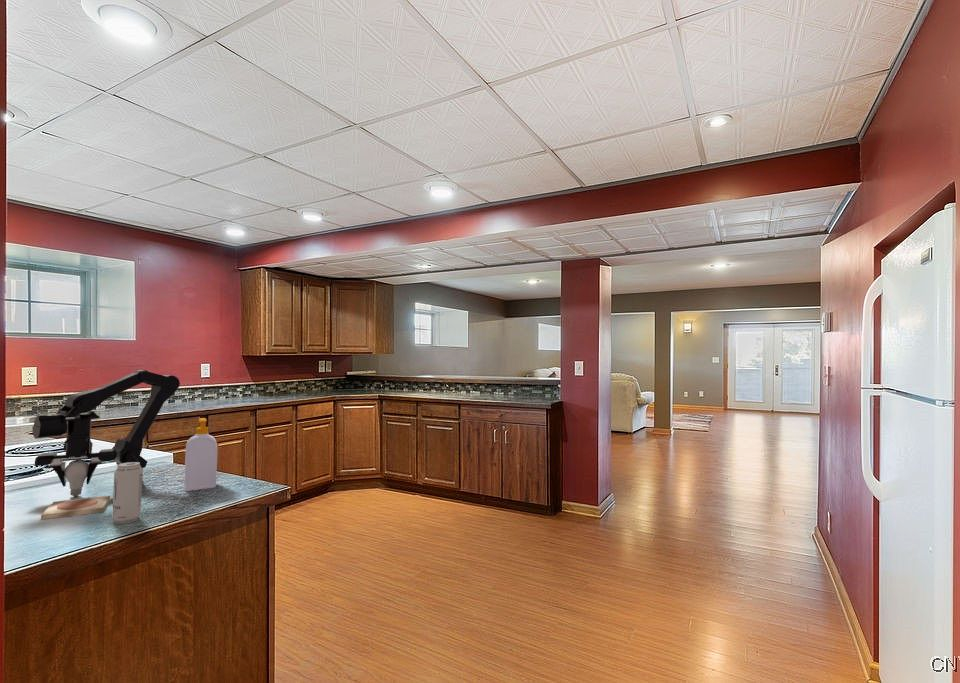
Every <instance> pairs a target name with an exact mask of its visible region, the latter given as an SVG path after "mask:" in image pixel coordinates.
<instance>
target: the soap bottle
mask: <svg viewBox="0 0 960 683" xmlns="http://www.w3.org/2000/svg"><path fill="white" fill-rule="evenodd" d="M207 421H208V420H207V418H205V417H202V418H201V417H199V419H198V422H199V424H200V425H199V426H198V427H196V429H195V435H192V436H191V437H190V438H189V439H188V440H187V441H186V444H185V459H184V461H185V462H184V480H183V481H184V482H183V484H184V485H183V488H184V491H185V492H190V491H191V492H192V490H193V491H198V490H200V491H201V490H208V489H209V488H210V489H214V488H217V471H218V470H217V469H218V468H217V467H218V447H219V446H218V442H217V440H216V438H215V437H214V436H213V435H212V434H211V435H210V433H209V426H205V425H206V422H207Z"/></svg>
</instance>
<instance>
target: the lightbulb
mask: <svg viewBox="0 0 960 683" xmlns="http://www.w3.org/2000/svg"><path fill="white" fill-rule="evenodd" d="M88 468H89V463H88V462H86V461H85V460H73V461H72V462H70V463H69V464H68V465H66V466H65V471H64V474H65V476H66V481H68V483H69V489H70V496H73V498H74V497H75V498H76V497H78V496H80V495H81V494H82V491H83V487H84V484H85V481H86V480H87V474H88Z"/></svg>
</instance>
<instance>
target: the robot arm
mask: <svg viewBox="0 0 960 683" xmlns="http://www.w3.org/2000/svg"><path fill="white" fill-rule="evenodd" d="M142 383H143V384H146V385H149V386H151V388H150V394H149V398H148V400H147V402H146V403H145V406H144V407H143V409H142V410H141V412H140V413H139V416H137V419H136V421H135V422H134V424H133V426H132V427H131V430H130V431H129V432H128V434H127V436H125V437H124V438H123V439H121V438H117V439H116V441H115V444H114V446H113V447H112V448H109V449H101V450H99V451H98V452H93V444H94V443H93V442H92V441H91V436H92V435H91V434H92V420H95V419H96V420H98V419H100V418H101V417H100V415H98V414H97V413H95V411H93V410H94V409H95V408H98V407H99V406H101V404H102V403H104V402H105V401H106V400H107V399H109V398H111V397H114V396H116V395H118V394H121V393H122V392H124V391H127V390H129V389H131V388H133V387H136V386H138V385H140V384H142ZM180 385H181V382H180V379H179V377H177V376H175V375H171V374H170V375H169V374H159V373H154V372H152V371H149V370H145V369H138V370H135V371H134V372H131V373H130V374H128V375H125V376H123V377H121V378H120V377H119V378H118V379H116V380H113V381H111V382H109V383H107V384H105V385H102V386H100V387H97V388H93V389H88V390H84V391H81V392H77V393H73V394H72V393H71V395H69V396H68V397H67V398H66V400H65V404H64V405H63V406H62V407H61V408H60V409H59V410H58V411H57V412H56V414H37V415H36V419H35V420H34V422H33V425H32V428H31V429H32V436H33V438H34V439H37V440H38V439H39V440H40V439H46V438H47V439H49V438H56V437H61V436H63V434H66V437H65V438H66V439H65V440H64V444H63V450H64V452H65V454H59V455H58V453H57V452H46V453H41V454H40V455H37V456H36V457H35V459H34V467H42V466H43V467H44V466H48V469H52V470H53V471H54V472H55V474H56V475H57V476H58V479H59V481H60V482H61V483H60V484H62V487H66V486H67V478H66V476H65V474H64V471H65V468H66V462H67V461H69V462H70V461H85V460H91V461H90V462H89V463H88V464H89V468H88V474H87V477H86V485H89V484H90V482H91V480H92V478H93V475H94V473H95V470H96V469H97V467H98V465H102V464H103V462H107V461H108V462H109V461H112V462H114V463H116V466H117V467H118V464H121V463H127V462H139V463H140V466H141V467H142V485H143V484H144V480H143V479H144V469H145V468H146V466H147V465H148V460H146V459H145V458H143V457H142V456H141V454H142V451H143V447H144V446H143V442H144V439H145V437H146V435H147V434H148V431H149V430H150V428H151V426H152V425H153V423H154V422H155V420H156V418H157V416H158V414H159V412H160V410H161V409H162V407H163V406H164V404H165V402H166V401H167V400H168V399H169V398H171V397H172V396H173V395H174V394H175V393H176V391H177V390H178V389H179V388H180Z"/></svg>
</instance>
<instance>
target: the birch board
mask: <svg viewBox="0 0 960 683" xmlns="http://www.w3.org/2000/svg"><path fill="white" fill-rule="evenodd" d="M110 501H111V495H104V496H94V497H85V498H76V499H68V500H59V501H53V502H52V503H51V504H50V505H49V506H47V508H46V509H45V510H44V511H43V512H42V514H41V515H40V520H47V519H48V518H49V519H56V518H65V517H64V516H66V517H72V515H74V516H80V515H79V514H82V515H89V514H98V513H104V510H105V509H106V507H107V506H108V504H109V503H110Z"/></svg>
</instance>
